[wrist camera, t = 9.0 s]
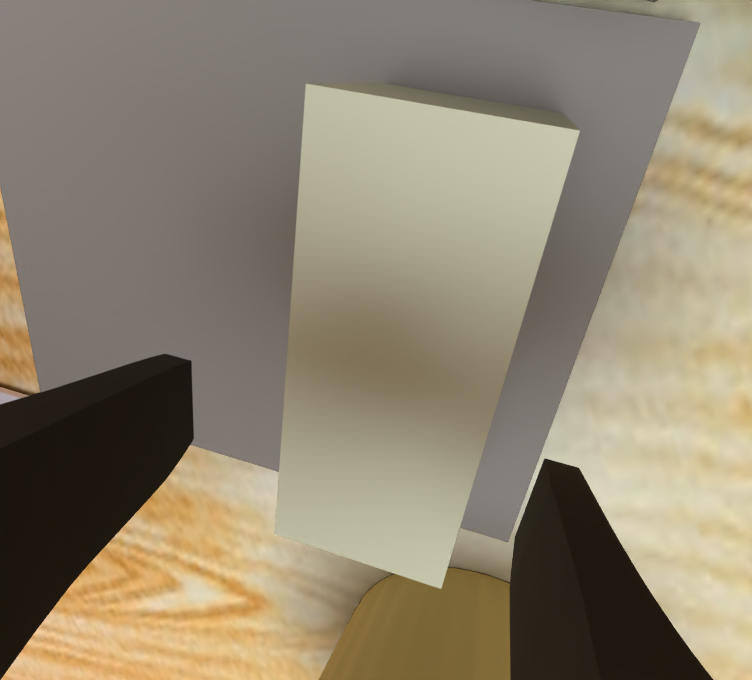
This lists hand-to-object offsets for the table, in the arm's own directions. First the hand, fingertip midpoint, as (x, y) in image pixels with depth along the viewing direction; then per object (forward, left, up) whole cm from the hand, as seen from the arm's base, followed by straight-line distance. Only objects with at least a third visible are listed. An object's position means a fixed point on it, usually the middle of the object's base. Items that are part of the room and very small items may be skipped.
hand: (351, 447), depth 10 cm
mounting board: (-6, 0, -9) cm, 11 cm away
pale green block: (0, 0, -8) cm, 8 cm away
